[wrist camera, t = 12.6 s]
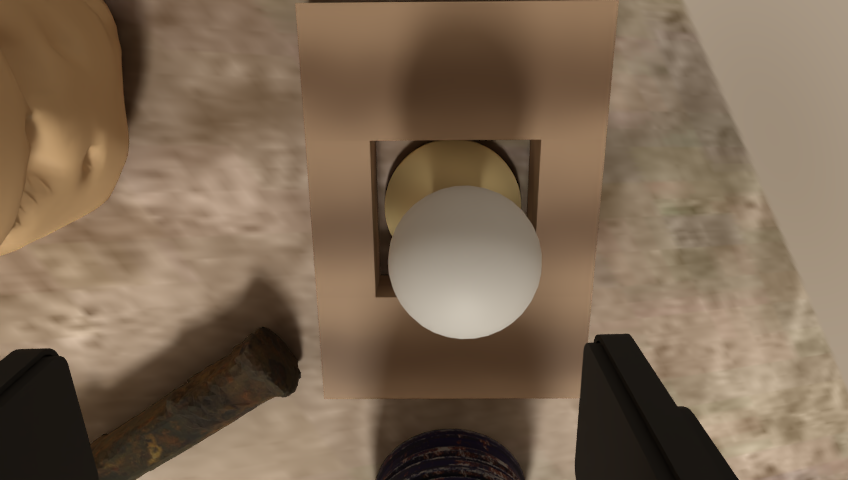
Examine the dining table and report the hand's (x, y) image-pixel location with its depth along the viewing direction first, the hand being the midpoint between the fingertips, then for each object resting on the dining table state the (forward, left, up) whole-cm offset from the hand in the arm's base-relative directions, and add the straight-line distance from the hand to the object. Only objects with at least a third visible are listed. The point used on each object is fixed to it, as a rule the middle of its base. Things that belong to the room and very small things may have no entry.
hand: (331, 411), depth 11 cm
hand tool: (+16, -14, -22) cm, 31 cm away
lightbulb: (+2, +3, -21) cm, 22 cm away
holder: (+2, +3, -22) cm, 22 cm away
